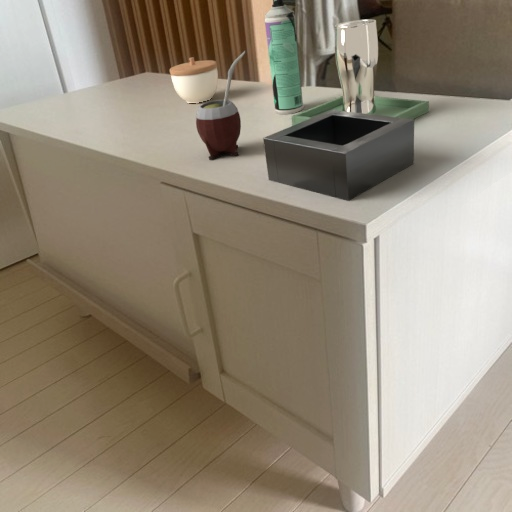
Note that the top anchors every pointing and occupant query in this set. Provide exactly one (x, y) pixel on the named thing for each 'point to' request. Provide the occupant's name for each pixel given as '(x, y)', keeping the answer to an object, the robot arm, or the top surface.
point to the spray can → (284, 58)
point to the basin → (340, 152)
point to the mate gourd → (220, 123)
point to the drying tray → (383, 106)
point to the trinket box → (195, 80)
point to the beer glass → (357, 64)
